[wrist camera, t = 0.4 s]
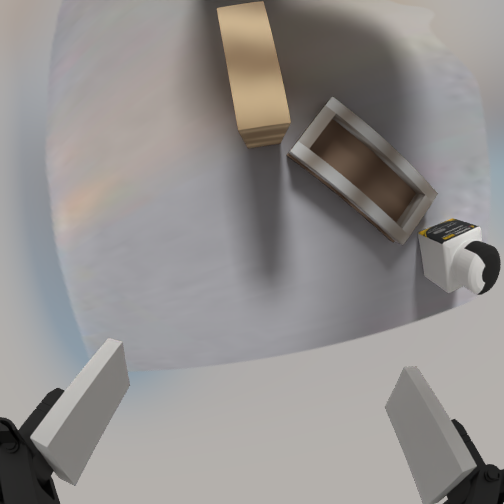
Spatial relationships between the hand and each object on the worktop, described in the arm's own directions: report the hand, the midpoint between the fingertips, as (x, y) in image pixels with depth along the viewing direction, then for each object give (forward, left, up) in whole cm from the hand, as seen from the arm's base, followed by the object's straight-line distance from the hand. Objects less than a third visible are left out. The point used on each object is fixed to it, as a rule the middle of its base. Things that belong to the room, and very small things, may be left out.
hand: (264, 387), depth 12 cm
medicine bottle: (-5, +26, -26) cm, 37 cm away
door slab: (-18, -4, -26) cm, 32 cm away
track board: (-12, +11, -26) cm, 30 cm away
